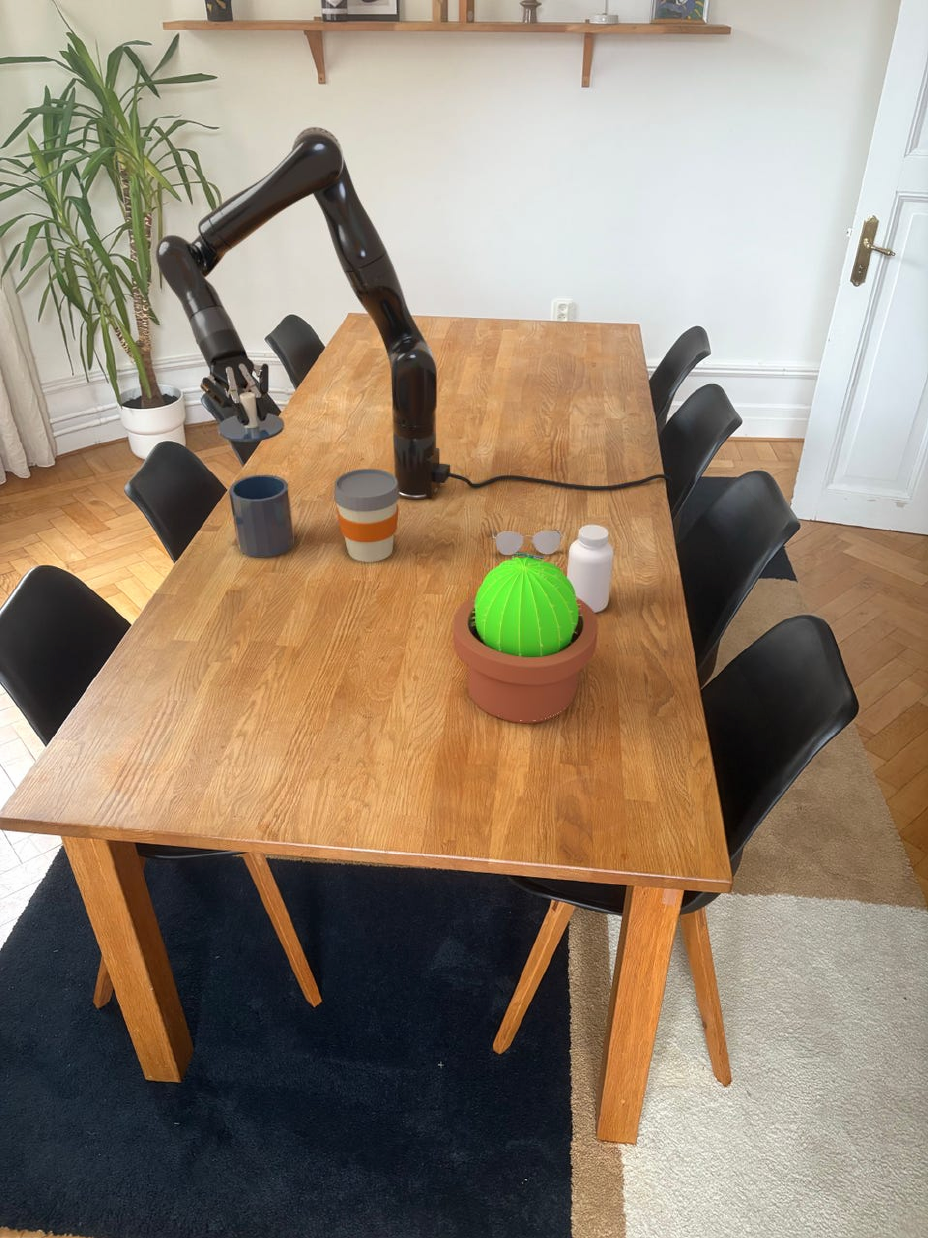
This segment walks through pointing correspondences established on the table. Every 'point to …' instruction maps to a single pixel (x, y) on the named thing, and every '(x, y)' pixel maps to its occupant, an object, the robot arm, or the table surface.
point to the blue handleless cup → (262, 515)
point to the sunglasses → (542, 541)
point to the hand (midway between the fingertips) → (255, 420)
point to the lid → (251, 424)
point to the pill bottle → (591, 566)
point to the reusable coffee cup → (367, 512)
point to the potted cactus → (524, 640)
